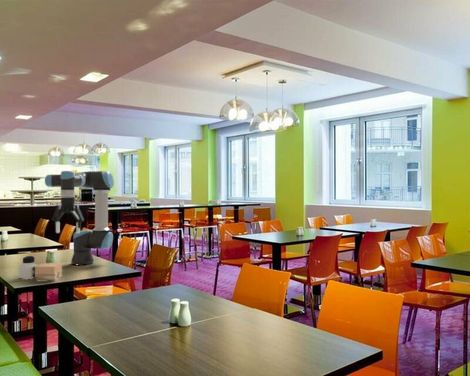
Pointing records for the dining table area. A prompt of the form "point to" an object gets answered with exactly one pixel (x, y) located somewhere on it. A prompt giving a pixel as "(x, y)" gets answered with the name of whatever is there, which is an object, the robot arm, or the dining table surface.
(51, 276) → the tower bottom
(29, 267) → the container
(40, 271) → the tower top
